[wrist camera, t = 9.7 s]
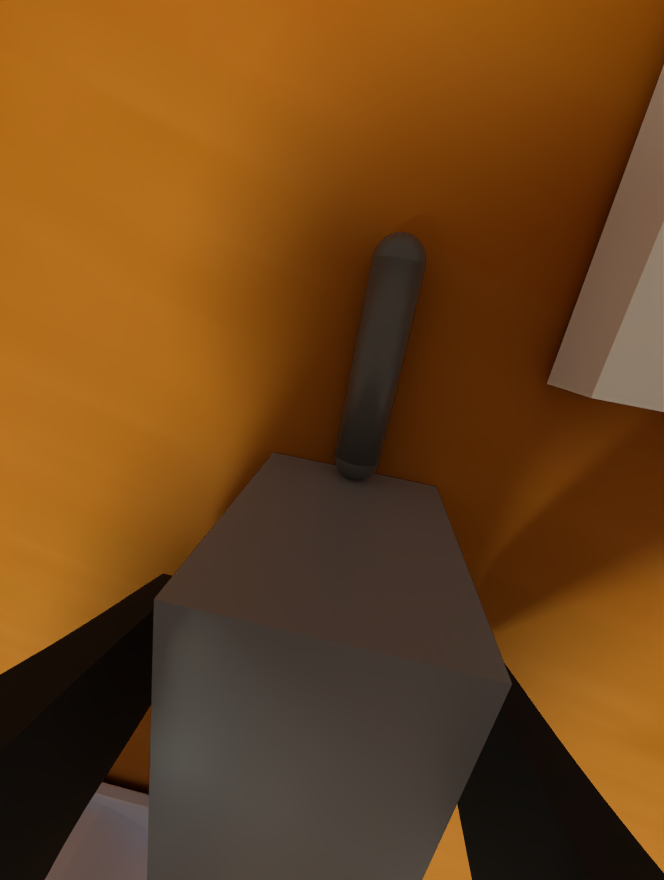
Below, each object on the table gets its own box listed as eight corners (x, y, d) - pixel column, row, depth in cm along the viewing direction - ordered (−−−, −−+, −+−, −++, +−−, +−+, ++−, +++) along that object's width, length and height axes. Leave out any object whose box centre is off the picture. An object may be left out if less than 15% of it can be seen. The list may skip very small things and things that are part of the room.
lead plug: (360, 740, 11) (350, 1034, 7) (238, 709, 12) (144, 974, 7) (504, 256, 7) (778, 107, 2) (304, 222, 7) (167, 20, 2)
